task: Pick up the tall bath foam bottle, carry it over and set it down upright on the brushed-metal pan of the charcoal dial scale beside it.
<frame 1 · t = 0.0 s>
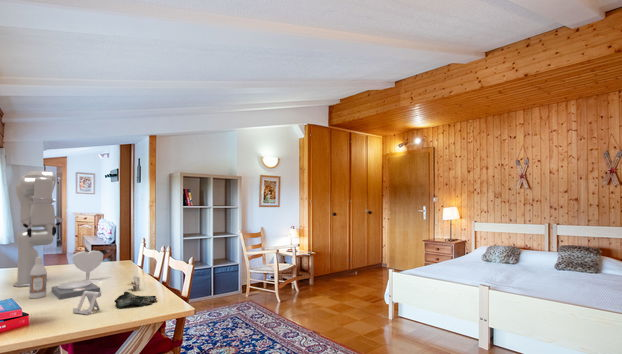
hand: (41, 236, 184), 31 cm above the table, tool pointing down, fingers open, 9 cm apart
dial scale: (75, 292, 197), on the table
portable electronic device stand: (88, 312, 162), on the table
bath foam: (37, 297, 188), on the table
decorative rock: (137, 304, 175), on the table
architectural model: (135, 291, 200), on the table
heart sculpture: (87, 281, 222), on the table
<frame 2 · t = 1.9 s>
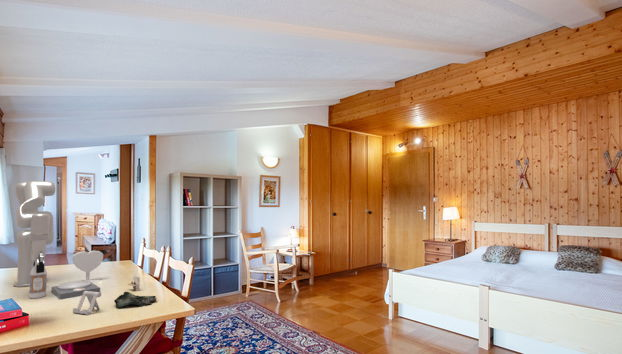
hand: (38, 271, 188), 13 cm above the table, tool pointing down, fingers open, 9 cm apart
nothing on the table moved.
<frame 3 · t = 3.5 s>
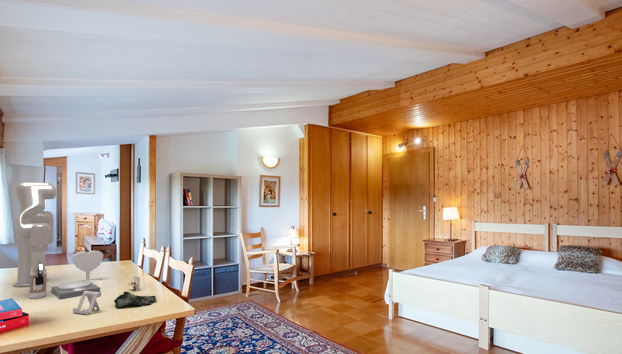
hand: (38, 283, 188), 7 cm above the table, tool pointing down, fingers closed on bath foam, 7 cm apart
bath foam: (37, 297, 188), on the table, touching gripper
everything else where it was.
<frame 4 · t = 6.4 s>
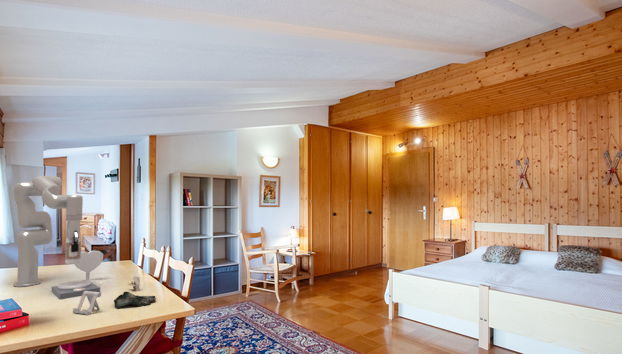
hand: (73, 250, 199), 22 cm above the table, tool pointing down, fingers closed on bath foam, 7 cm apart
bath foam: (72, 263, 199), point 15 cm above the table, touching gripper
everything else where it was.
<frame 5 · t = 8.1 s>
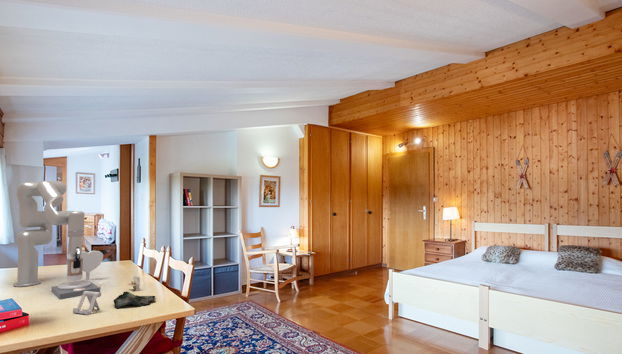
hand: (75, 266, 199), 13 cm above the table, tool pointing down, fingers closed on bath foam, 7 cm apart
bath foam: (74, 280, 199), point 6 cm above the table, touching gripper
everything else where it was.
when the fingers open (12 cm above the table, at t = 9.3 s): bath foam drops 1 cm, resting on dial scale.
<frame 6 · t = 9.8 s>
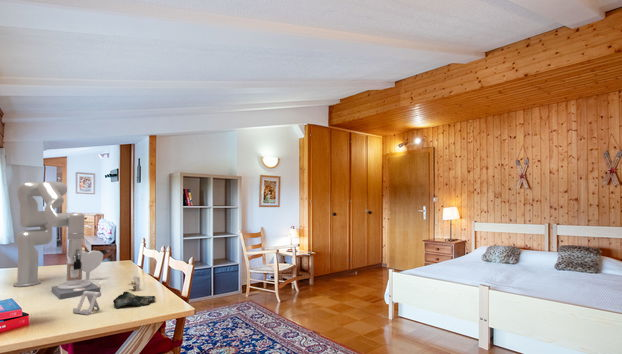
hand: (75, 268, 199), 12 cm above the table, tool pointing down, fingers open, 9 cm apart
bath foam: (74, 284, 199), point 4 cm above the table, touching dial scale
everything else where it was.
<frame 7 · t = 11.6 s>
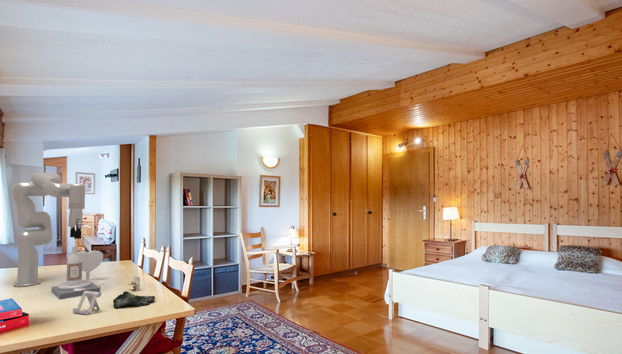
hand: (75, 237, 200), 29 cm above the table, tool pointing down, fingers open, 9 cm apart
nothing on the table moved.
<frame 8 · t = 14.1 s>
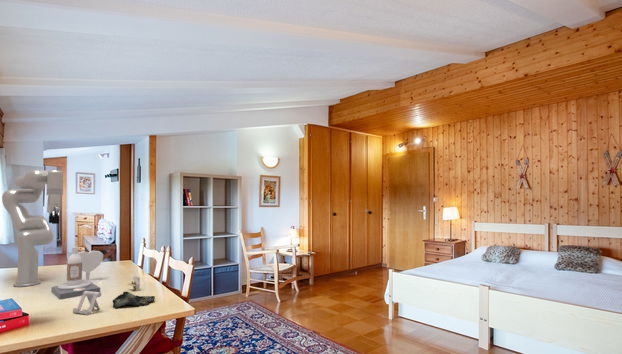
hand: (53, 223, 205), 36 cm above the table, tool pointing down, fingers open, 9 cm apart
at the end: bath foam inside the target area on the dial scale (0.3 cm from its centre), point 3.5 cm above the dial scale's base; bath foam tilted 0°; the gripper is holding nothing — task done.
